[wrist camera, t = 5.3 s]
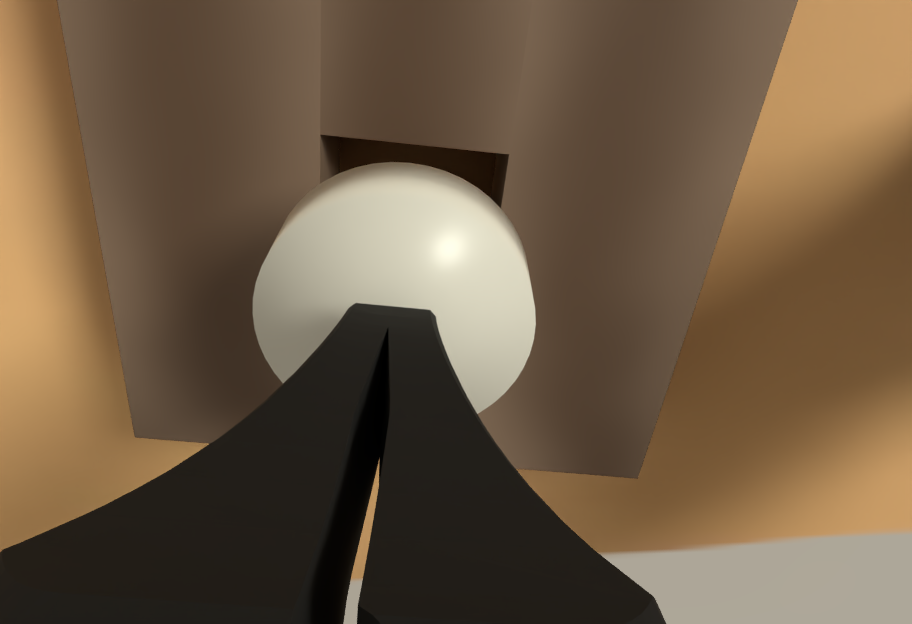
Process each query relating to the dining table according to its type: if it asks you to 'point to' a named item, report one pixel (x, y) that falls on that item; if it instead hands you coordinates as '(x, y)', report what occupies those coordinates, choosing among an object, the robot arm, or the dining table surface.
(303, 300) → the button
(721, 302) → the dining table surface
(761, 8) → the console
